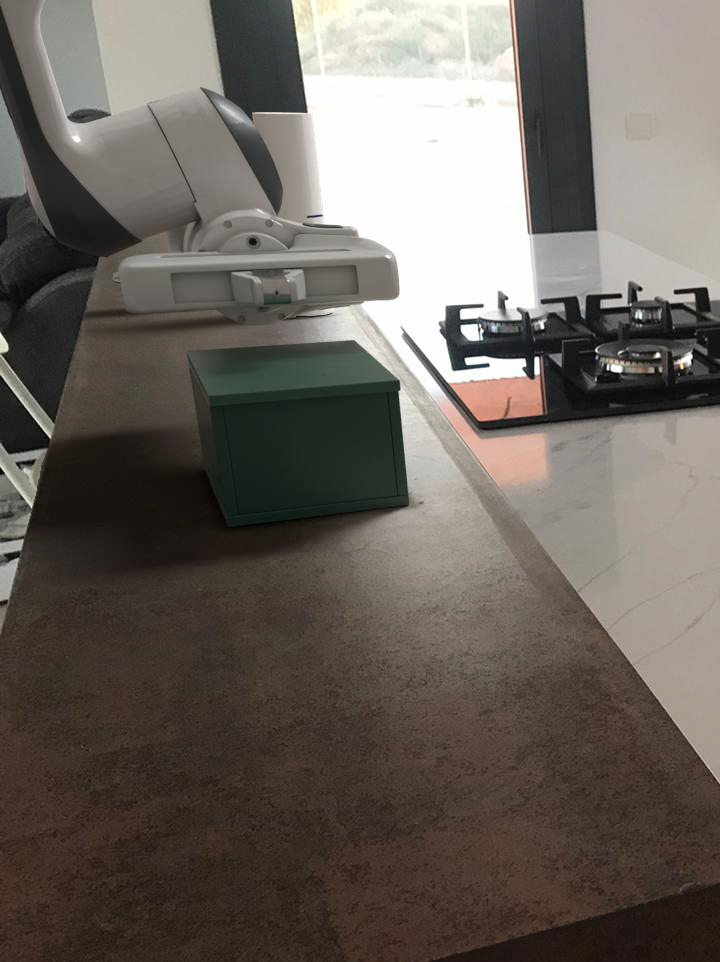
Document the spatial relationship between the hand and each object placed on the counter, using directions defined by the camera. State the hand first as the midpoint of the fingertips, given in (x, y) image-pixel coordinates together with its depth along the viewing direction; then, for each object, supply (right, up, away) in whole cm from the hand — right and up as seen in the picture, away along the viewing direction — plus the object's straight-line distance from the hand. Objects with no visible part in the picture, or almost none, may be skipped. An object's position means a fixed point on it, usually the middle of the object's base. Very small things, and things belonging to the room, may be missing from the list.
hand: (276, 292), depth 95 cm
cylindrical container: (-27, +16, +77) cm, 83 cm away
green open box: (0, -14, +5) cm, 15 cm away
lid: (+1, -6, +1) cm, 6 cm away
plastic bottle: (-43, +17, +80) cm, 92 cm away
